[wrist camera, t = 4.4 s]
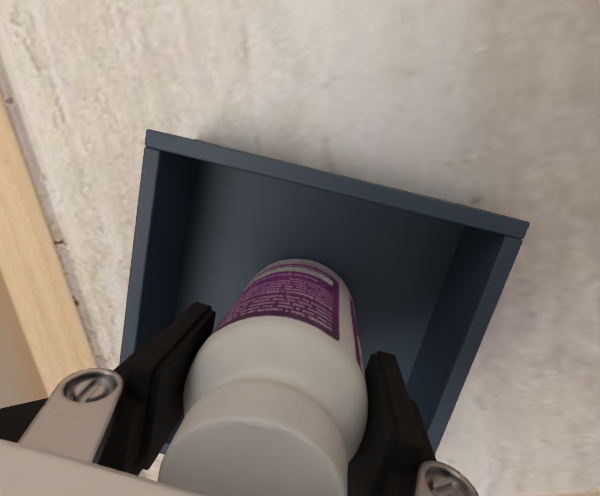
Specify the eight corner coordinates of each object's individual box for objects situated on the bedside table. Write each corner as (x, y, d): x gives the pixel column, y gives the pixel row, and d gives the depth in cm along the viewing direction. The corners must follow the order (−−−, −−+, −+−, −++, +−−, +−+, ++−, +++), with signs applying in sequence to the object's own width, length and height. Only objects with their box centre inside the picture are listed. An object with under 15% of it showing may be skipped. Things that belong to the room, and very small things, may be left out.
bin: (193, 139, 15) (145, 128, 11) (479, 208, 15) (531, 222, 11) (157, 382, 18) (109, 439, 15) (391, 448, 18) (406, 525, 14)
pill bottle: (222, 304, 16) (72, 480, 7) (300, 232, 15) (241, 330, 6) (298, 379, 17) (250, 637, 8) (379, 315, 16) (441, 528, 6)
